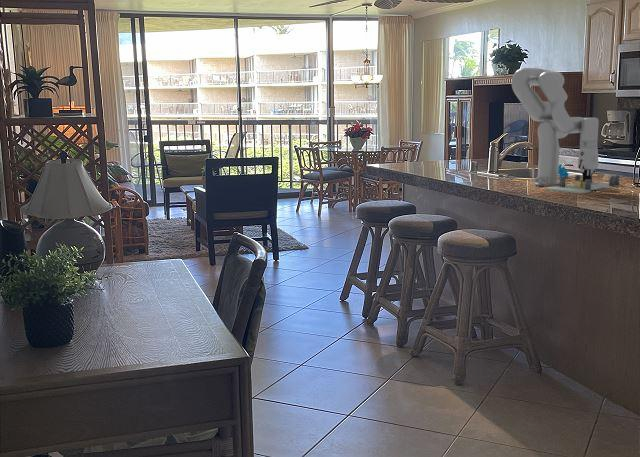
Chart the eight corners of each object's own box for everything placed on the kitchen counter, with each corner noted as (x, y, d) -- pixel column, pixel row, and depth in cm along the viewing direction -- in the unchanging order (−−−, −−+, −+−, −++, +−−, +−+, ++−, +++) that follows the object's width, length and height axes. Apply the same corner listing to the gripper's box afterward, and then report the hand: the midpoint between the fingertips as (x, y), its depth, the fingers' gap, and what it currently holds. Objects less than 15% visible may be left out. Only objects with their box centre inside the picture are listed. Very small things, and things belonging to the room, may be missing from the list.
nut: (583, 188, 311) (584, 181, 311) (570, 187, 317) (570, 180, 316) (591, 187, 315) (592, 180, 314) (578, 186, 320) (578, 179, 320)
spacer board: (580, 193, 303) (581, 181, 302) (545, 189, 317) (546, 178, 316) (621, 186, 323) (622, 175, 322) (586, 183, 337) (587, 172, 336)
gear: (559, 176, 355) (550, 161, 361) (551, 183, 360) (543, 168, 365) (574, 177, 361) (565, 163, 366) (566, 184, 365) (558, 170, 370)
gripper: (586, 145, 308) (584, 186, 311) (604, 144, 317) (602, 183, 320) (571, 145, 314) (570, 184, 317) (590, 143, 323) (588, 182, 326)
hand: (586, 184), depth 319 cm, fingers closed
